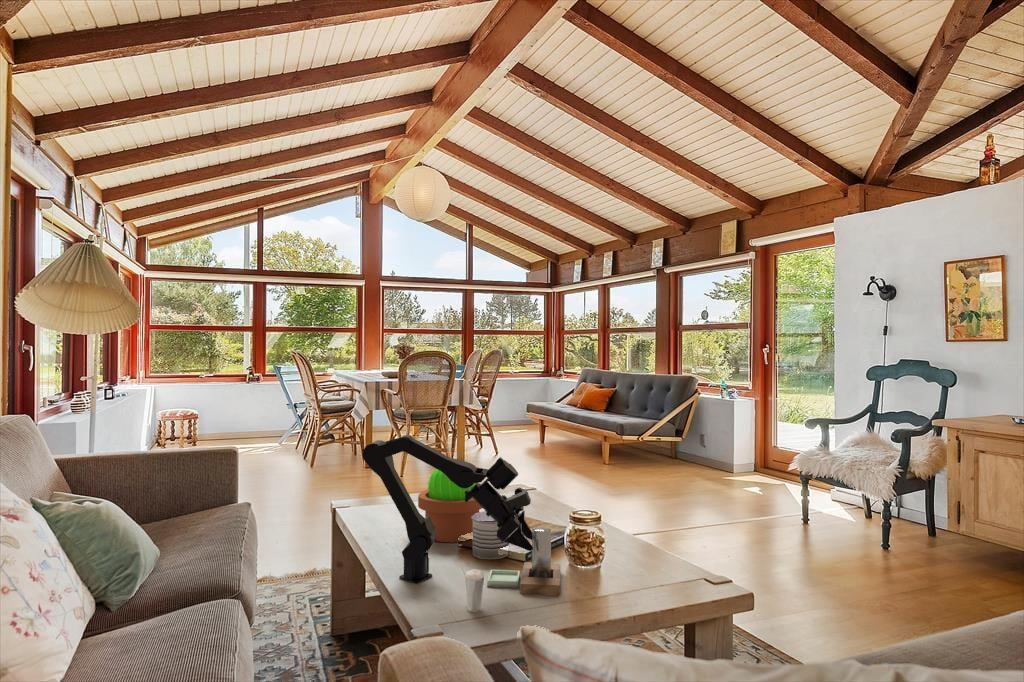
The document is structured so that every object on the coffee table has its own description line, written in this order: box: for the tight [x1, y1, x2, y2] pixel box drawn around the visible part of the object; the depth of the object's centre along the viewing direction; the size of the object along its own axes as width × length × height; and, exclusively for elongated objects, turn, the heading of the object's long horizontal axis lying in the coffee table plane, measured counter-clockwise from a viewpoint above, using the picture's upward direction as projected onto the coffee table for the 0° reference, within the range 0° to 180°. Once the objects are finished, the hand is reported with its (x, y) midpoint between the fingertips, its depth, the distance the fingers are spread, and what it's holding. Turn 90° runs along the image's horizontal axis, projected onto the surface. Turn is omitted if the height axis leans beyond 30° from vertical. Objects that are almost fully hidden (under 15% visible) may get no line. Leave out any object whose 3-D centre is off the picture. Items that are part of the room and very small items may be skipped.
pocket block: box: [519, 561, 561, 596], centre depth 167 cm, size 10×16×2 cm, turn 175°
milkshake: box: [461, 568, 485, 613], centre depth 150 cm, size 4×5×10 cm
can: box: [471, 510, 510, 561], centre depth 191 cm, size 11×11×12 cm
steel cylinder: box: [531, 526, 552, 578], centre depth 167 cm, size 5×5×14 cm
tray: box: [486, 569, 521, 588], centre depth 168 cm, size 8×8×2 cm
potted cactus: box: [417, 468, 483, 544], centre depth 209 cm, size 22×22×25 cm
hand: (533, 544), depth 168 cm, fingers open, 9 cm apart
